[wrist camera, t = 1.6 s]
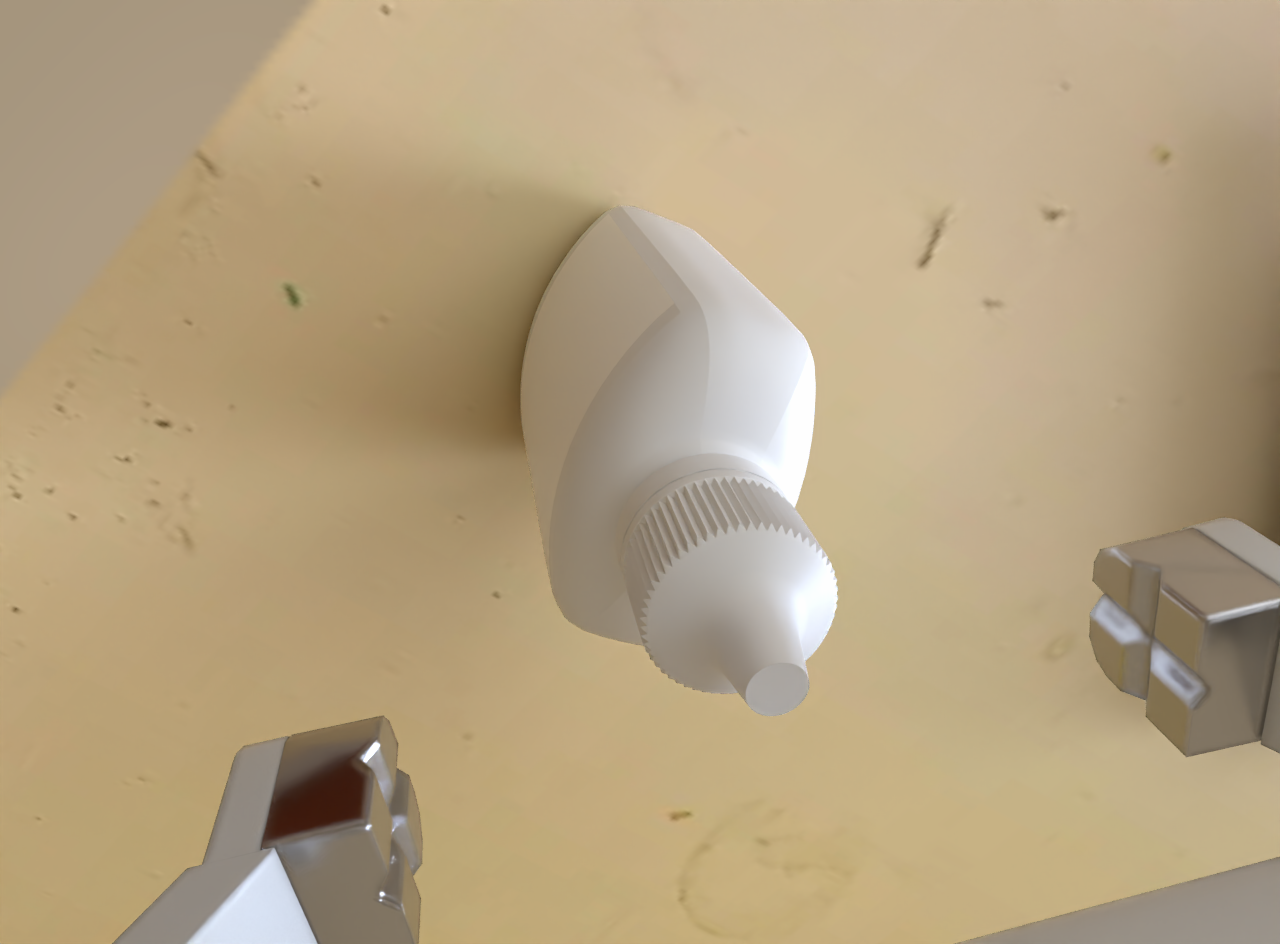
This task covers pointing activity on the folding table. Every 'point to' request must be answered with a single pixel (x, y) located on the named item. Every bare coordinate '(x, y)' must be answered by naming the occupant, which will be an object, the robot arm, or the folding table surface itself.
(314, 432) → the folding table surface
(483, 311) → the folding table surface
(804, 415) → the eye dropper bottle
